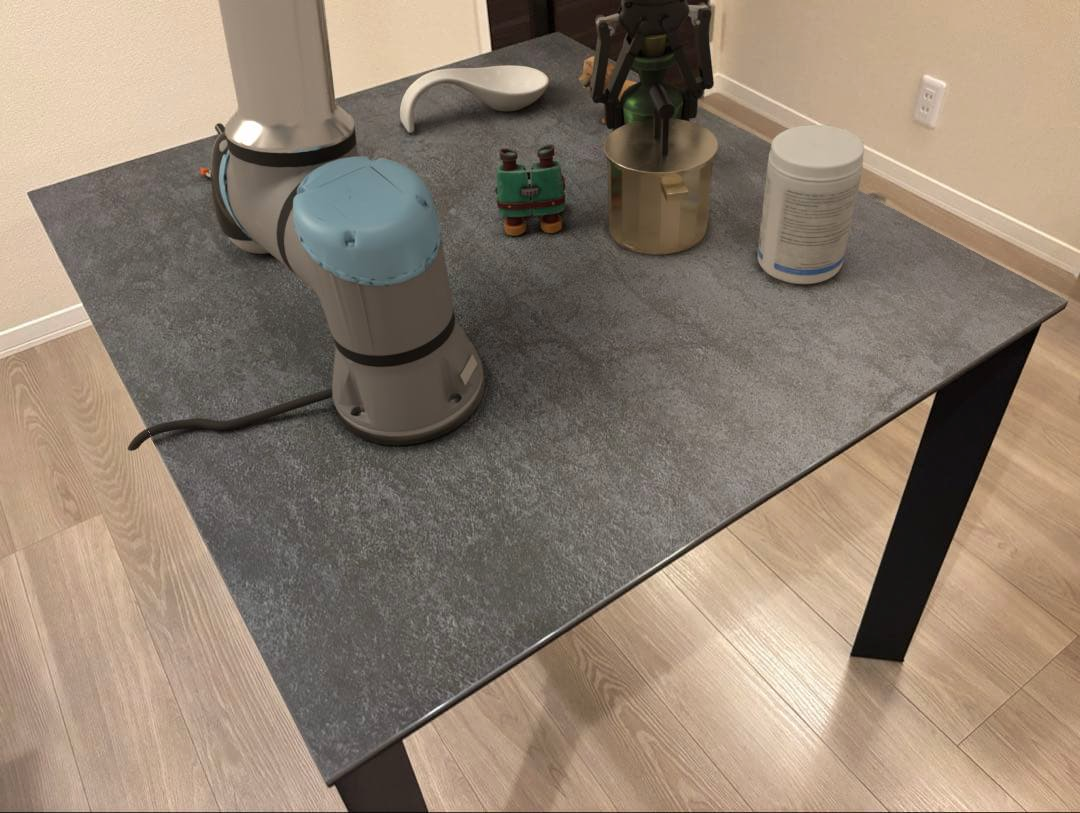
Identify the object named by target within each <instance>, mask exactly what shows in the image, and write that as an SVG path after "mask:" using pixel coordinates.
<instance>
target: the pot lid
mask: <svg viewBox="0 0 1080 813" xmlns="http://www.w3.org/2000/svg"><path fill="white" fill-rule="evenodd" d="M649 96H650V98H651V100H652V102H653V104H654V119H645V120H640V121H635V122H632V123H628V124H626V125H623V126H621V127H619V128H617V129H616V130H614V131H613V130H612V132H610V133H609V135H607V136H606V138H605V139H604V143H603V155H604V157H605V159H606V161H607V160H608V161H609V163H611V164H612V165H613V166H614V167H616V168H618V169H620V170H622V171H624V172H627V173H630V174H634V175H639V176H645V177H673V176H679V175H684V174H688V173H691V172H694V171H697V170H699V169H701V168H703V167H705V166H706V165H708V164H709V163H710V162H711V161H712V160H713V161H714V160H715V158H716V157H717V153H718V149H719V142H718V139H717V137H716V136H715V134H714V133H713V132H712V131H711V130H709V129H708V128H707V127H705V126H703V125H701V124H700V123H699V124H698V123H696V122H693V121H690V120H689V121H686V120H680V119H672V118H671V117H672V116H673V115H674V113H675V108H674V106H673V104H672V102H671V100H670V98H669V96H668V95H667V93H666V91H665V89H664V87H663V86H661V85H655V86H653V87H652V88H651V89H650V91H649Z"/></svg>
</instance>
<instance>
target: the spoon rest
mask: <svg viewBox="0 0 1080 813" xmlns="http://www.w3.org/2000/svg"><path fill="white" fill-rule="evenodd" d="M549 83H550V79H549V77H548V76H547V75H546V73H544V72H543V71H542V70H539V69H537V68H534V67H531V66H524V65H512V64H510V65H509V64H507V65H493V66H484V67H483V66H482V67H458V68H457V67H456V68H455V67H454V68H453V67H451V68H443V69H437V70H432V71H430V72H428V73H426V74H423V75H422V76H419V77H418V78H417V79H415V81H413V83H411V85H409V87H408V88H407V89H406V91H405V92H404V94H403V96H402V100H401V103H400V108H399V117H400V122H401V124H402V125H403V127H404V129H406V131H407V132H408V133H409V134H412V133H414V131H415V117H414V116H415V115H414V114H415V107H416V104H417V102H418V100H419V99H420V98H421V96H422V95H423V94H425V92H427V91H428V90H430V89H431V88H433V87H435V86H438V85H441V84H442V85H443V84H450V85H455V86H458V87H460V88H462V89H463V90H465V91H467V92H468V93H469V94H471V95H473V96H474V97H476V99H478V100H479V101H481V102H482V103H484V104H485V105H487V106H489V107H490V108H492V109H493V110H495V111H500V112H515V111H520V110H522V109H524V108H526V107H527V106H530V105H532V104H533V103H535V102H536V101H537V100H539V99H540V98H541V96H542V95H543V94H544V93H545V91H546V90H547V88H548V86H549Z"/></svg>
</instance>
